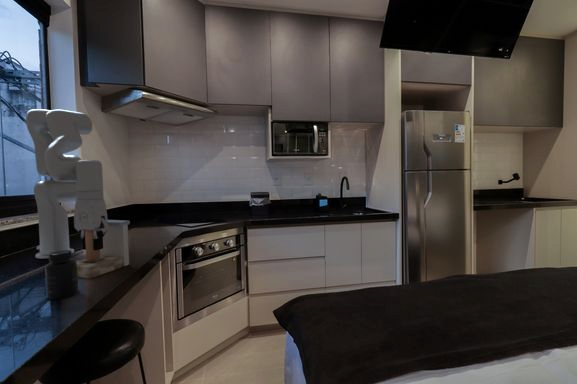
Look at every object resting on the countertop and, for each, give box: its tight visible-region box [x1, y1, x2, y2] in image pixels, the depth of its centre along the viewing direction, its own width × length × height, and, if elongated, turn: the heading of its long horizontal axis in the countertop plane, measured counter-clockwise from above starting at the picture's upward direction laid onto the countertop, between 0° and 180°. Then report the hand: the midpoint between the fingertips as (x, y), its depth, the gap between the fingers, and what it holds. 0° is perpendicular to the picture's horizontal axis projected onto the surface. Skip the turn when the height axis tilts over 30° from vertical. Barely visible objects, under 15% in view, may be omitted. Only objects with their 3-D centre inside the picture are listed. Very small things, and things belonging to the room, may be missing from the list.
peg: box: [85, 228, 100, 260], centre depth 97 cm, size 4×4×12 cm
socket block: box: [75, 255, 123, 279], centre depth 98 cm, size 12×12×4 cm
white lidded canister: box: [100, 219, 131, 267], centre depth 105 cm, size 12×4×16 cm, turn 74°
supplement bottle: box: [44, 250, 80, 301], centre depth 77 cm, size 7×7×12 cm
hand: (93, 248), depth 98 cm, fingers closed on peg, 4 cm apart
